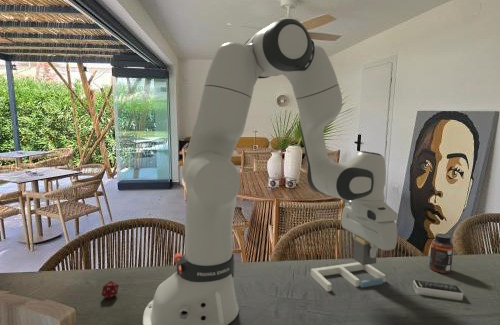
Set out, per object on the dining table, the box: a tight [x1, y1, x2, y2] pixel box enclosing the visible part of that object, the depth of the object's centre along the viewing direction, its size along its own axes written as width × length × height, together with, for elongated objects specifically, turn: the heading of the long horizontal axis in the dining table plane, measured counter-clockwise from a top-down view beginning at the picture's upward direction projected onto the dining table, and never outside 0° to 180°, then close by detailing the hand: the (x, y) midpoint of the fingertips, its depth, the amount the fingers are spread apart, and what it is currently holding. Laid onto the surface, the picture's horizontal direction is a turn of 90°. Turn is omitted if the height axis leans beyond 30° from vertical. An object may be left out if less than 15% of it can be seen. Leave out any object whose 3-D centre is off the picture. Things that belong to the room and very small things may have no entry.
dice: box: [101, 280, 119, 300], centre depth 78 cm, size 4×4×4 cm
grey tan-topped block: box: [352, 236, 378, 265], centre depth 88 cm, size 4×4×7 cm
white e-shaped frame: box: [310, 261, 387, 293], centre depth 89 cm, size 19×10×2 cm, turn 107°
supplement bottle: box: [428, 233, 454, 274], centre depth 95 cm, size 6×6×11 cm
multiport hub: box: [412, 279, 464, 301], centre depth 82 cm, size 4×11×2 cm, turn 74°
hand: (364, 252), depth 89 cm, fingers closed on grey tan-topped block, 4 cm apart
